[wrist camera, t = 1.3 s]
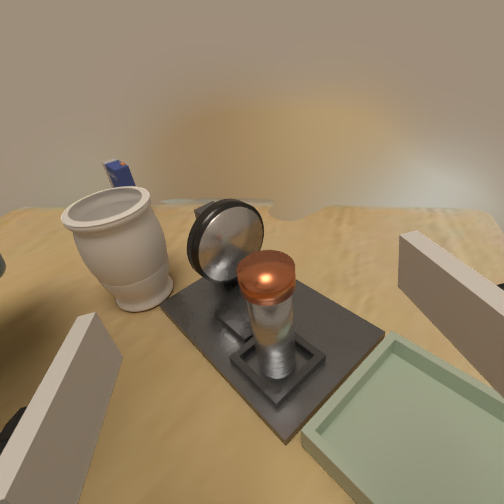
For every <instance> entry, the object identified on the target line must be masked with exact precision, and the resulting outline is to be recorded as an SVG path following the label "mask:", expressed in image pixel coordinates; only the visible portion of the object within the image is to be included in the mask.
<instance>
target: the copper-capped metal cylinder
mask: <svg viewBox="0 0 504 504" xmlns="http://www.w3.org/2000/svg"><path fill="white" fill-rule="evenodd" d="M236 272H237V277H238V282H239V287H240V292H241V295H242V296H243V298H244V299H245V300H247V305H248V310H249V315H250V321H251V326H252V332H253V337H254V342H255V348H256V353H257V359H258V364H259V368H260V370H261V371H262V373H263V374H265V375H266V376H268V377H270V378H274V379H279V378H284V377H286V376H288V375H289V374H291V373H292V371H293V370H294V368H295V365H296V355H295V339H294V324H293V308H292V294H293V293H294V291H295V287H296V279H295V264H294V261H293V260H292V258H291V257H290V256H288V255H287V254H285V253H283V252H280V251H274V250H263V251H258V252H254V253H252V254H250V255H248V256H246V257H245V258H243V259H242V260H241V261H240V263H239V264H238V266H237V271H236Z"/></svg>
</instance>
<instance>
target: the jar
mask: <svg viewBox="0 0 504 504" xmlns="http://www.w3.org/2000/svg"><path fill="white" fill-rule="evenodd" d="M150 204H151V197H150V194H149V192H148V191H147V190H146V189H144V188H141V187H135V186H125V187H116V188H111V189H107V190H103V191H99V192H96V193H93V194H91V195H88V196H86V197H84V198H82V199H80V200H78V201H76V202H74V203H73V204H71V205H70V206H69V207H68V208H67V209H65V211H64V212H63V213H62V215H61V221H62V223H63V225H64V226H65V227H66V228H67V229H68V230H70V231H72V232H73V236H74V240H75V243H76V246H77V249H78V251H79V253H80V255H81V257H82V259H83V261H84V263H85V264H86V266H87V267H88V269H89V270H90V271H91V273H92V274H93V275H94V276H95V277H96V278H97V279H98V280H99V282H100V283H101V284H102V286H103V287H104V288H105V289H106V290H107V291H108V292H109V293H111V294H112V295H113V296H115V297H116V303H117V305H118V306H119V307H120V308H121V309H123V310H125V311H130V312H139V311H145V310H148V309H151V308H153V307H155V306H157V305H159V304H160V303H161V302H163V301H164V300H165V299H166V298H167V297H168V296H169V295H170V293H171V292H172V289H173V281H172V279H171V277H170V276H169V275H168V274H169V260H168V255H167V247H166V241H165V237H164V234H163V231H162V228H161V225H160V223H159V221H158V219H157V217H156V215H155V214H154V212H153V211H152V209H151V208H150Z"/></svg>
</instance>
